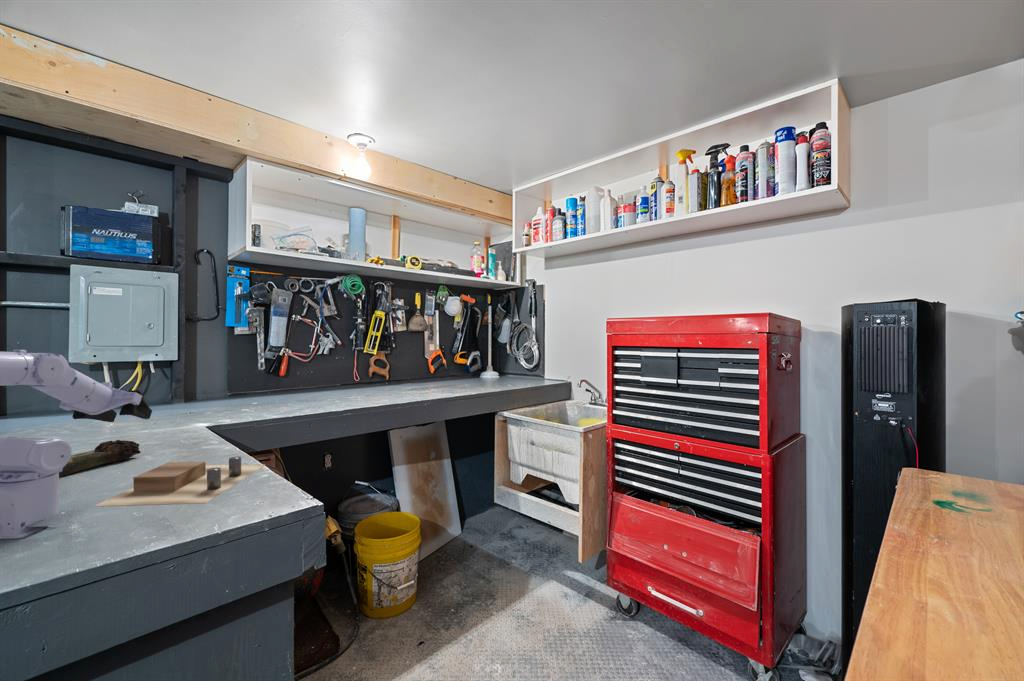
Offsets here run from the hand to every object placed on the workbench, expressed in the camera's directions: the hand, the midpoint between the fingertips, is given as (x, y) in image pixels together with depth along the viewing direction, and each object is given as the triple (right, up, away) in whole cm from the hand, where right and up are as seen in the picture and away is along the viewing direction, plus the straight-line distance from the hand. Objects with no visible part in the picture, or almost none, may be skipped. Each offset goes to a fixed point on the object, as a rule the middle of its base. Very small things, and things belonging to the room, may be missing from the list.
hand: (131, 416), depth 96 cm
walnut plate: (+11, -14, -3) cm, 18 cm away
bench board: (+15, -15, -3) cm, 22 cm away
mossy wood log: (-21, -15, +13) cm, 29 cm away
